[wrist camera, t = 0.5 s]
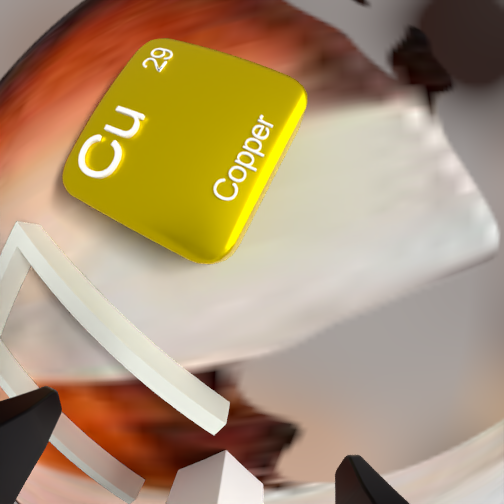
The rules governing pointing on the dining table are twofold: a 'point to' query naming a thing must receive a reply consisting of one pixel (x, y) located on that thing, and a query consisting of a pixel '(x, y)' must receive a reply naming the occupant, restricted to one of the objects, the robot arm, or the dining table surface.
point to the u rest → (112, 339)
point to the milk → (216, 483)
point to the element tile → (186, 146)
